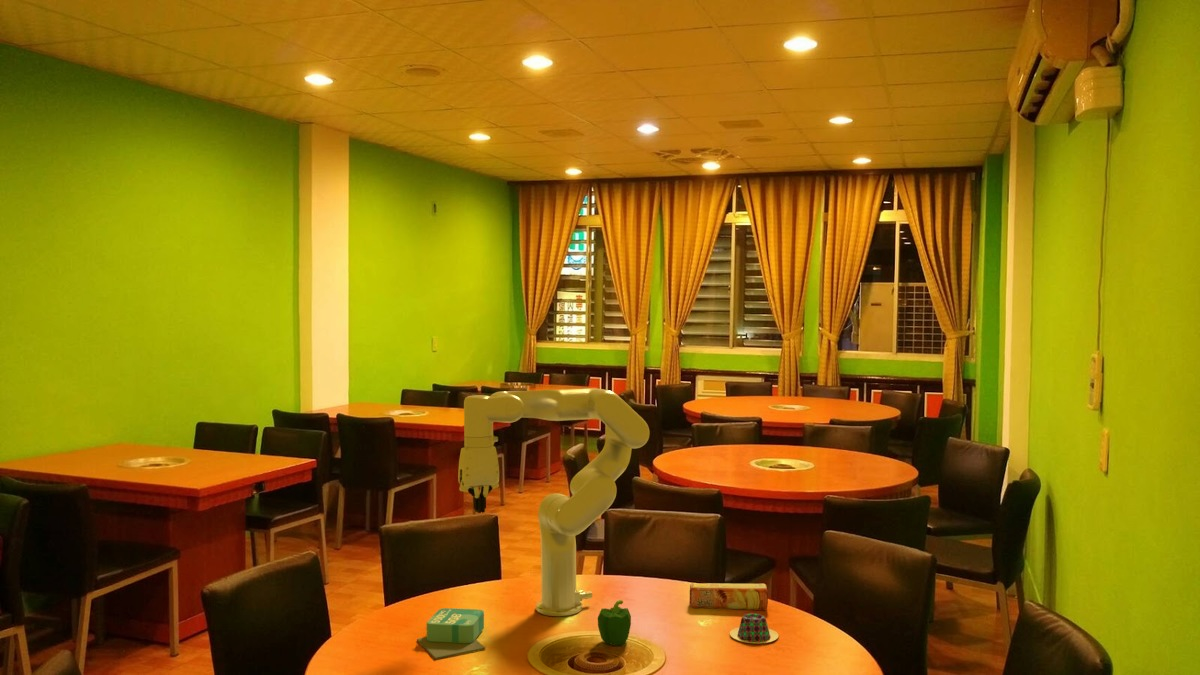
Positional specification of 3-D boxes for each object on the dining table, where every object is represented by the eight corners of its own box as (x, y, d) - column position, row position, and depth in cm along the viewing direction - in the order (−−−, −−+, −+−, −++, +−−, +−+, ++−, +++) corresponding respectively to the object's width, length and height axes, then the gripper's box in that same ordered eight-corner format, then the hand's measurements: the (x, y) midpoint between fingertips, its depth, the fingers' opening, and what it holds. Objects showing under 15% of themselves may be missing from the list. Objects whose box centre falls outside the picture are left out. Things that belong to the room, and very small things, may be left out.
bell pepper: (608, 651, 214) (607, 609, 214) (592, 640, 222) (592, 600, 221) (638, 644, 218) (638, 604, 218) (622, 634, 225) (622, 595, 225)
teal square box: (471, 625, 218) (424, 623, 220) (472, 644, 218) (424, 641, 220) (485, 609, 230) (440, 607, 232) (485, 626, 230) (440, 624, 232)
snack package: (689, 610, 244) (689, 585, 244) (690, 602, 250) (690, 578, 250) (768, 613, 241) (768, 588, 240) (767, 605, 247) (767, 581, 247)
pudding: (772, 628, 230) (772, 608, 229) (783, 645, 218) (783, 624, 217) (725, 629, 229) (725, 609, 229) (734, 646, 217) (734, 625, 217)
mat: (464, 631, 228) (464, 629, 228) (485, 649, 216) (485, 647, 216) (417, 640, 222) (417, 638, 222) (435, 659, 210) (435, 657, 210)
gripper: (499, 438, 241) (500, 506, 242) (446, 443, 234) (447, 512, 234) (510, 442, 235) (511, 511, 235) (456, 446, 227) (457, 518, 228)
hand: (479, 511), depth 235 cm, fingers closed
